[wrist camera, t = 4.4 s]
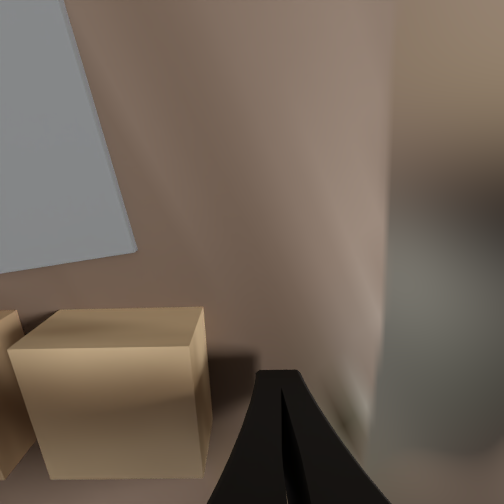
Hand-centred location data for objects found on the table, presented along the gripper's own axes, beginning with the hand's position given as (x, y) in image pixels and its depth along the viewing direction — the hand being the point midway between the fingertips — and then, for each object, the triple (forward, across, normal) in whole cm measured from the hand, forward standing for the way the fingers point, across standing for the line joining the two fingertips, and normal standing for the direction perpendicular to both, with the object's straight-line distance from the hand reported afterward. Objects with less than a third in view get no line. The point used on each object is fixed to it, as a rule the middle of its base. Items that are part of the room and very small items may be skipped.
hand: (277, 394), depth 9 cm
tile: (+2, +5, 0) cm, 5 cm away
